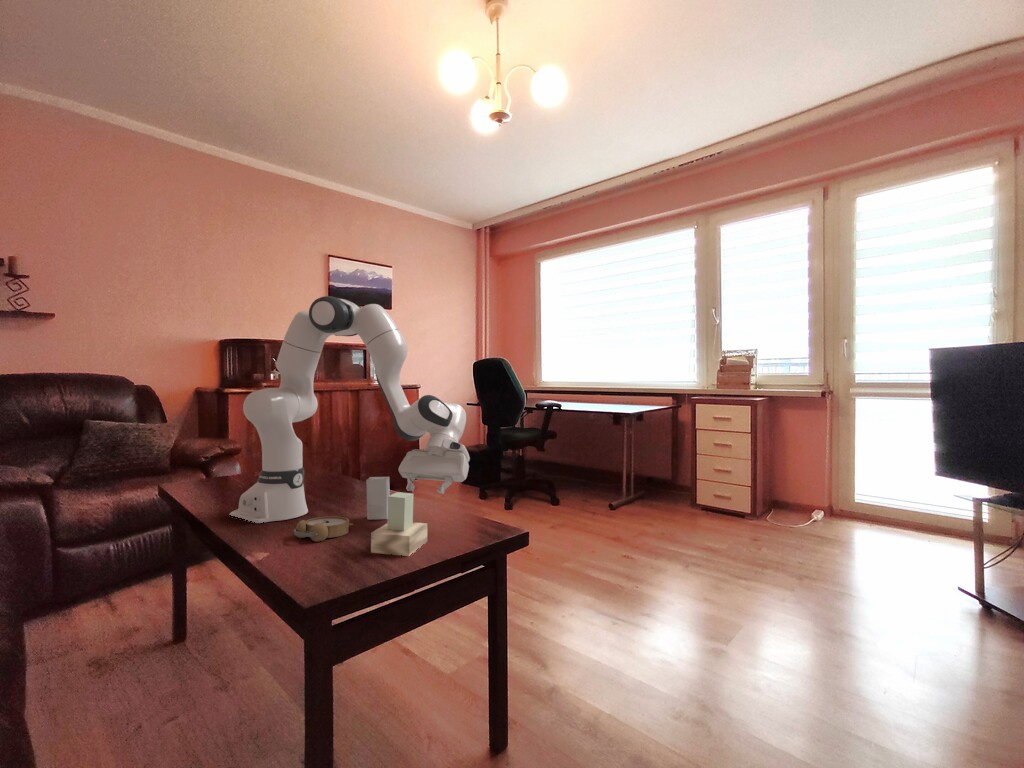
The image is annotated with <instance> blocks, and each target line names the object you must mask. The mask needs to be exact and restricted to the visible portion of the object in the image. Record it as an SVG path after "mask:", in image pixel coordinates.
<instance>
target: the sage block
mask: <svg viewBox="0 0 1024 768" xmlns="http://www.w3.org/2000/svg"><path fill="white" fill-rule="evenodd" d="M413 518H414V493H413V492H412V493H409V492H400V491H396V492H395V493H394V492H393V493H392V494H390V496H388V519H386V521H387V522H386V524H387V529H391V530H399V531H405V530H406V529H408V528H409V527H411V526H413V522H414V519H413Z"/></svg>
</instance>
